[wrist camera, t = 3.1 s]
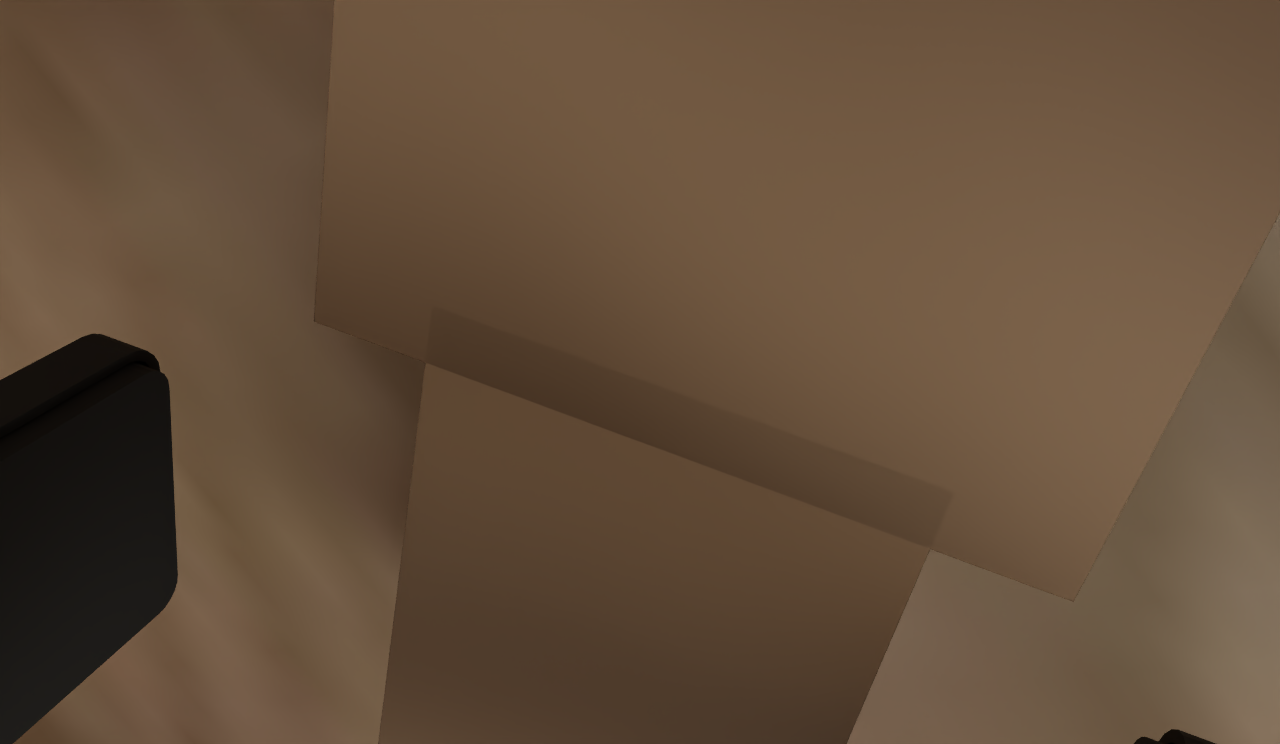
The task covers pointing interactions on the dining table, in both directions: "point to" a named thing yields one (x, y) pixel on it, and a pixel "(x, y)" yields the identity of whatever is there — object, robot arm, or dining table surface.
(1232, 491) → the dining table surface
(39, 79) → the dining table surface
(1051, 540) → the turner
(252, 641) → the dining table surface
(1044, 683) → the dining table surface
